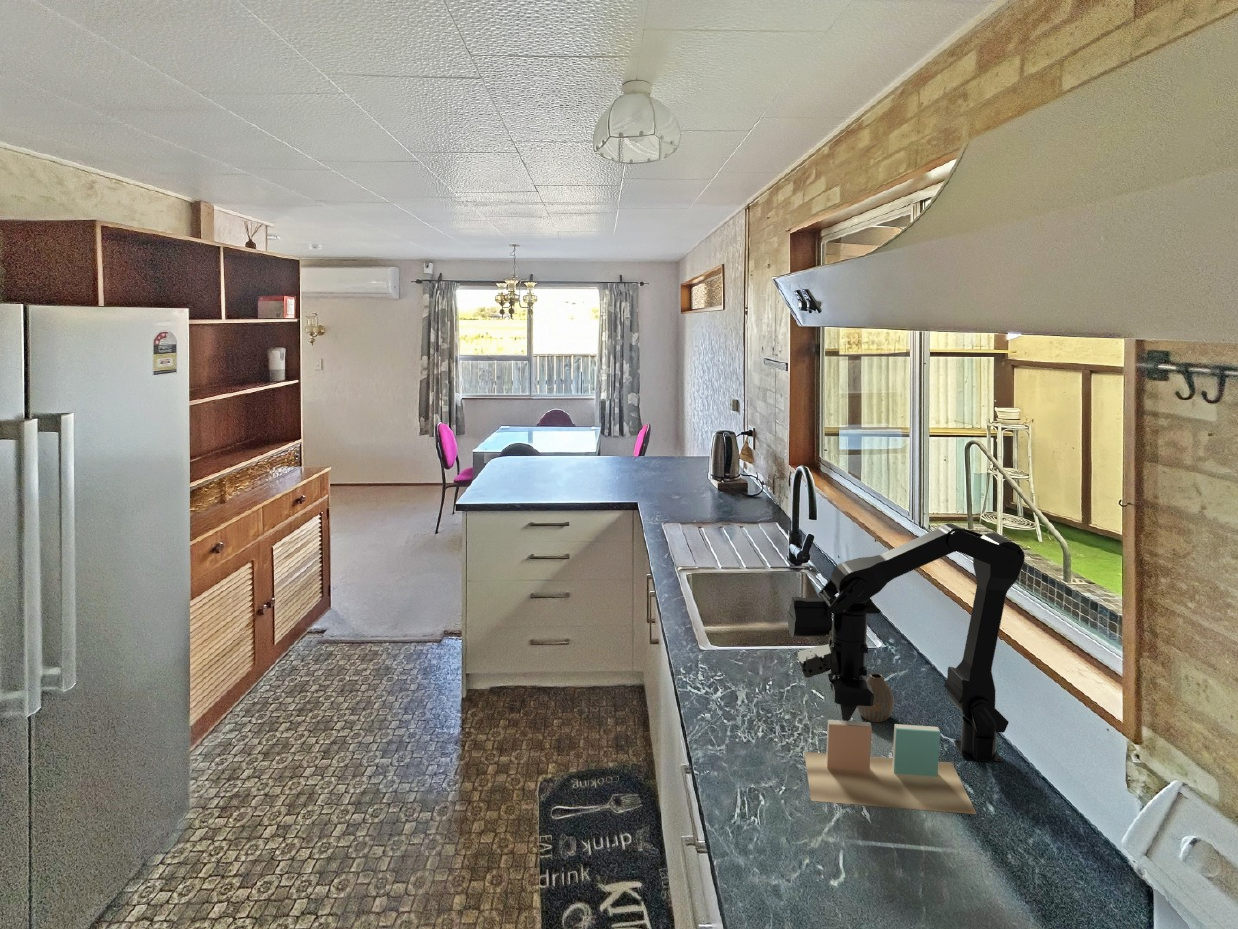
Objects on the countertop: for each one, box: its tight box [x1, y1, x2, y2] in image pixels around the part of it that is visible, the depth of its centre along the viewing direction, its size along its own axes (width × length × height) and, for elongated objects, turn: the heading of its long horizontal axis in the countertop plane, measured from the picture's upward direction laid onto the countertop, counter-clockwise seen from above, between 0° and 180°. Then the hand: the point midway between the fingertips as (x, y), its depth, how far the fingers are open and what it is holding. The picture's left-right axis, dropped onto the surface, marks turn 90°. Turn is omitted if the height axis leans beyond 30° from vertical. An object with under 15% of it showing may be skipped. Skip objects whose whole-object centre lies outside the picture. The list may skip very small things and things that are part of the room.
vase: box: [856, 672, 895, 723], centre depth 153 cm, size 7×7×9 cm
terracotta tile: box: [825, 719, 873, 771], centre depth 135 cm, size 2×7×8 cm, turn 81°
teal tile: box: [892, 723, 941, 776], centre depth 134 cm, size 2×7×8 cm, turn 81°
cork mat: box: [803, 751, 977, 815], centre depth 132 cm, size 15×25×1 cm, turn 81°
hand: (845, 719), depth 140 cm, fingers closed
